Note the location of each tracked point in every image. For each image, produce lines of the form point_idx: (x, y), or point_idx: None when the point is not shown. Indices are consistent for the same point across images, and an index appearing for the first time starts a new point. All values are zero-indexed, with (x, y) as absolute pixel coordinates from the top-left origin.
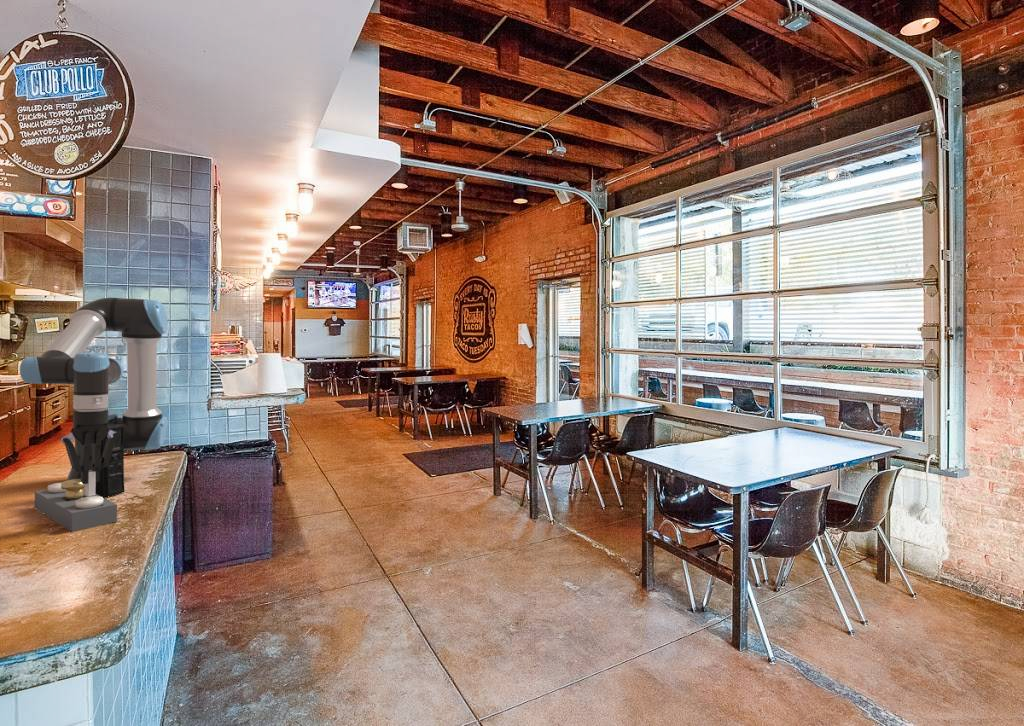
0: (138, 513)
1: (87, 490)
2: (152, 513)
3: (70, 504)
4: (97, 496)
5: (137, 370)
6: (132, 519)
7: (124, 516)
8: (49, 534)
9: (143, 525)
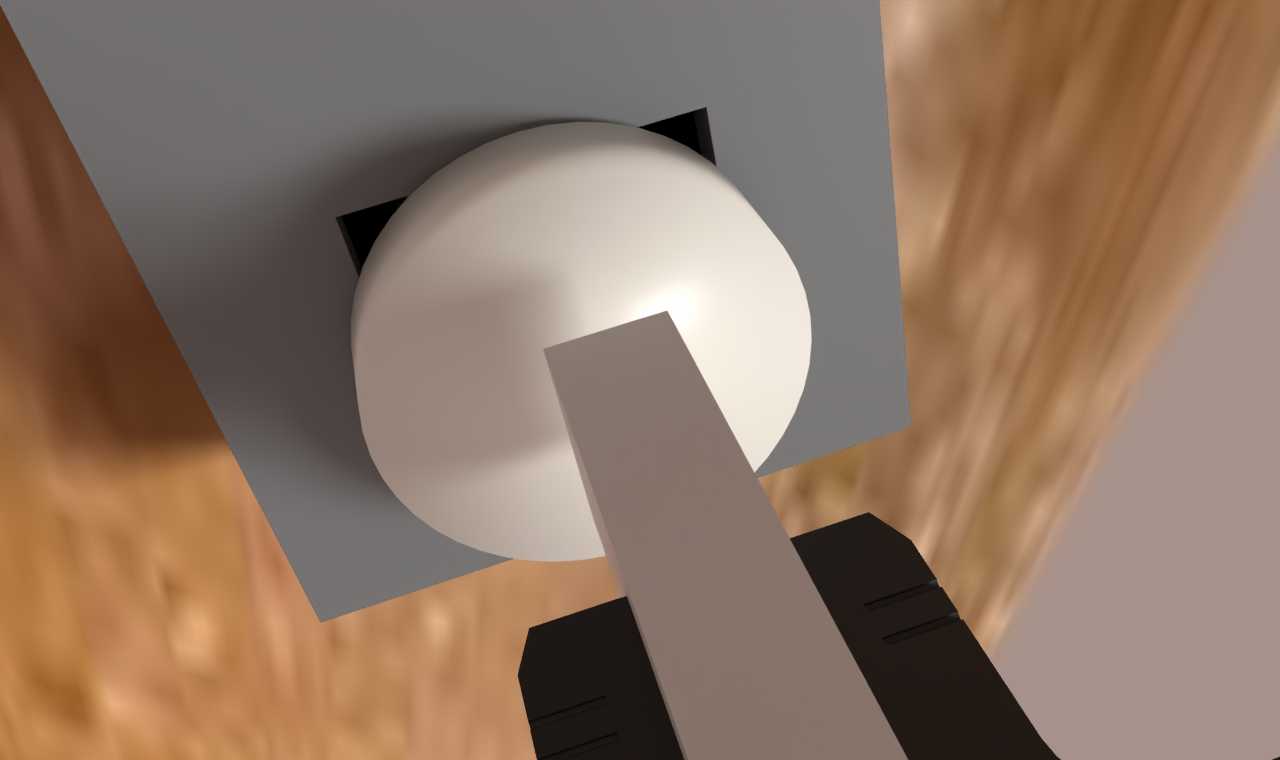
0: (1116, 6)
1: (602, 534)
2: (1222, 110)
3: (244, 63)
4: (743, 228)
5: None
6: (966, 255)
7: (940, 60)
8: (45, 420)
9: (970, 517)
